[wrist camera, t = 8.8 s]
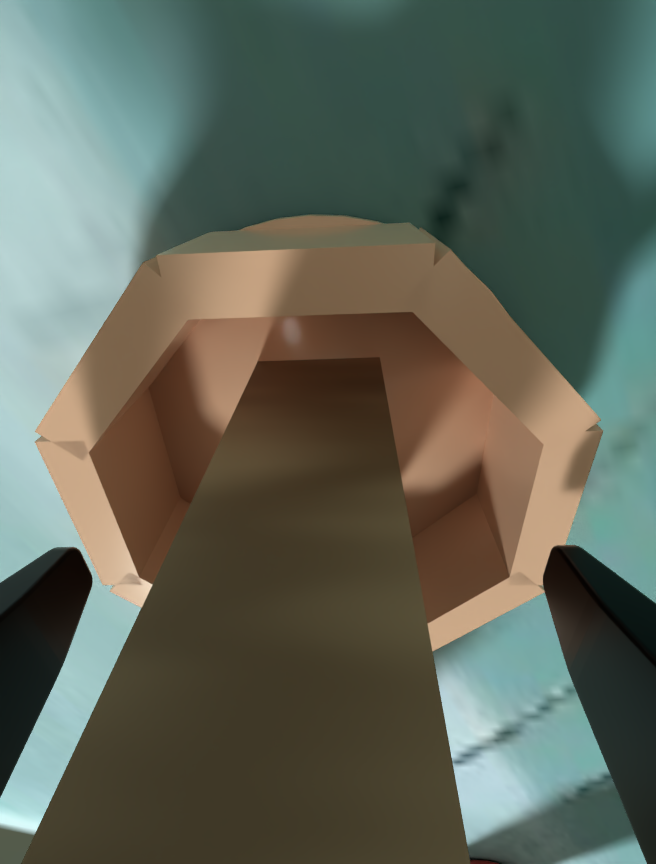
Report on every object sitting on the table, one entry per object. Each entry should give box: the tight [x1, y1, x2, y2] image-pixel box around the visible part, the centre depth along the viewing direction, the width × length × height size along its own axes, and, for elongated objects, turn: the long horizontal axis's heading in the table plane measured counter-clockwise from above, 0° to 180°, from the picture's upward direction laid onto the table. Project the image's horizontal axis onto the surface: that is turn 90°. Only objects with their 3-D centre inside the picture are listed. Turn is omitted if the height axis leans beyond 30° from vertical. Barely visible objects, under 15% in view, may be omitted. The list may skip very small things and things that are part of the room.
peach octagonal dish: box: [35, 214, 603, 652], centre depth 11 cm, size 11×11×4 cm
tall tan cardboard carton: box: [21, 357, 470, 864], centre depth 8 cm, size 3×5×9 cm, turn 3°
